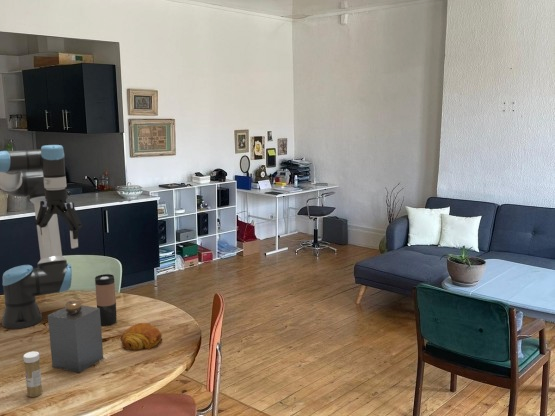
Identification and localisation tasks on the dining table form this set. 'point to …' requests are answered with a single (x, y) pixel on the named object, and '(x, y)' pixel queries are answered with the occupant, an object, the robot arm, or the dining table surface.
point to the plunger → (73, 306)
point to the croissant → (141, 337)
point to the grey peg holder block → (75, 338)
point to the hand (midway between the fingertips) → (60, 245)
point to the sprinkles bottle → (33, 374)
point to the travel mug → (106, 299)
